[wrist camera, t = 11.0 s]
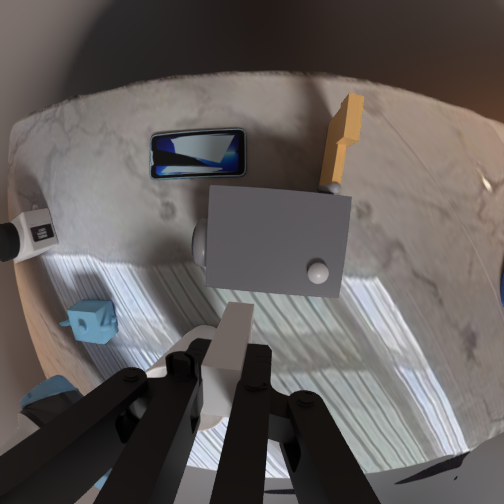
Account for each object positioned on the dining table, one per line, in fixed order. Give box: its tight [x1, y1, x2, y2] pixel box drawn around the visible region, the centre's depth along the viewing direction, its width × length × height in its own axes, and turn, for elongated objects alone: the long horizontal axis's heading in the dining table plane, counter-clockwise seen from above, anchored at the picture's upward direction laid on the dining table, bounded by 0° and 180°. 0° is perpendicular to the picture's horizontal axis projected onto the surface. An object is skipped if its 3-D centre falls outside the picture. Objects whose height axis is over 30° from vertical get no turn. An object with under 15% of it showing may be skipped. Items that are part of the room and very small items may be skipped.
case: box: [192, 185, 352, 298], centre depth 37 cm, size 18×12×11 cm, turn 86°
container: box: [0, 208, 58, 263], centre depth 39 cm, size 8×8×13 cm
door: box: [318, 93, 364, 193], centre depth 32 cm, size 11×2×14 cm, turn 170°
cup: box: [145, 325, 225, 432], centre depth 39 cm, size 12×12×16 cm
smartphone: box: [150, 128, 246, 180], centre depth 40 cm, size 7×1×15 cm
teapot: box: [58, 299, 119, 344], centre depth 44 cm, size 12×6×8 cm, turn 94°
